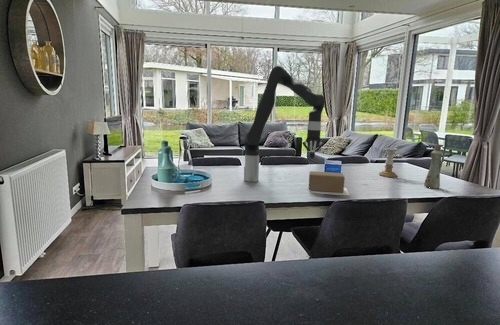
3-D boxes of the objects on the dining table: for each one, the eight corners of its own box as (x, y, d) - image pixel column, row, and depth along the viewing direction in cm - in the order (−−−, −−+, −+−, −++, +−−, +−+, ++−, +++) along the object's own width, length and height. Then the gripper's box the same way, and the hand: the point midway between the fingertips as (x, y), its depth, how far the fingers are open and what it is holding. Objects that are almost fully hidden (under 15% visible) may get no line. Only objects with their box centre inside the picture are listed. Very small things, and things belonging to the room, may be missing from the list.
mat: (310, 192, 188) (310, 192, 188) (309, 185, 204) (310, 185, 204) (349, 195, 185) (349, 194, 185) (346, 188, 200) (346, 187, 200)
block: (308, 190, 191) (343, 193, 188) (309, 174, 189) (344, 176, 186) (308, 186, 201) (341, 188, 197) (309, 170, 199) (343, 172, 195)
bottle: (431, 189, 202) (437, 145, 196) (420, 186, 210) (426, 143, 205) (443, 189, 204) (449, 145, 199) (431, 185, 213) (437, 143, 207)
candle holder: (387, 173, 245) (390, 146, 242) (400, 176, 235) (404, 149, 231) (375, 174, 240) (378, 147, 236) (388, 178, 229) (391, 150, 225)
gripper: (302, 129, 186) (300, 158, 190) (326, 130, 184) (323, 160, 187) (302, 128, 193) (300, 156, 197) (325, 129, 191) (323, 157, 195)
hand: (312, 158), depth 192 cm, fingers closed
